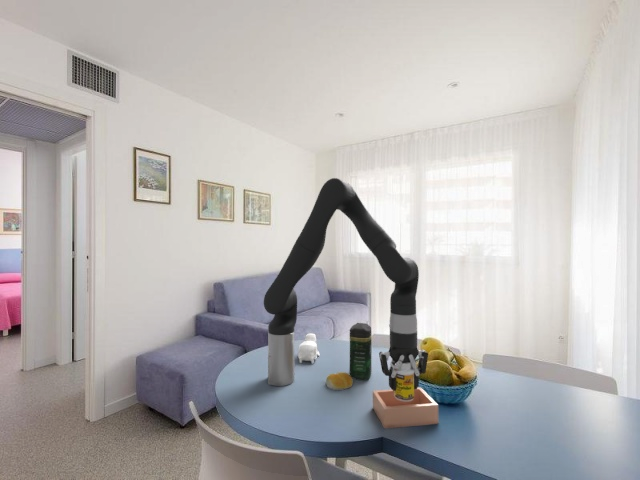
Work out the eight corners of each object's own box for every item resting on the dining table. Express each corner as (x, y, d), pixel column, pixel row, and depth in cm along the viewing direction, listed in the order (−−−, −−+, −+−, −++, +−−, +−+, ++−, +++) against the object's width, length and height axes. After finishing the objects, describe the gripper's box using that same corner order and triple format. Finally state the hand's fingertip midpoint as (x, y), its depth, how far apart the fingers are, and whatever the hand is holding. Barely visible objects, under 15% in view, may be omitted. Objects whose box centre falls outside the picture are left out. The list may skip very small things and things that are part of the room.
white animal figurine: (317, 370, 122) (321, 345, 136) (316, 353, 120) (320, 329, 133) (296, 369, 124) (302, 344, 137) (295, 352, 121) (301, 329, 134)
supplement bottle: (393, 401, 83) (392, 363, 83) (394, 391, 88) (394, 356, 88) (414, 404, 81) (413, 366, 81) (414, 394, 86) (413, 358, 86)
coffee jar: (370, 382, 105) (369, 329, 105) (347, 379, 107) (347, 327, 107) (373, 371, 114) (372, 322, 114) (352, 368, 116) (352, 320, 116)
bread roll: (357, 387, 102) (356, 375, 102) (334, 393, 98) (334, 380, 98) (344, 377, 109) (344, 366, 109) (322, 382, 105) (322, 371, 105)
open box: (384, 428, 78) (384, 409, 78) (372, 407, 88) (372, 390, 88) (438, 423, 80) (438, 404, 80) (421, 404, 90) (420, 387, 90)
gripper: (383, 333, 80) (384, 397, 80) (433, 331, 82) (434, 393, 82) (374, 326, 87) (375, 384, 87) (421, 324, 89) (421, 381, 89)
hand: (403, 388), depth 84 cm, fingers closed on supplement bottle, 5 cm apart
